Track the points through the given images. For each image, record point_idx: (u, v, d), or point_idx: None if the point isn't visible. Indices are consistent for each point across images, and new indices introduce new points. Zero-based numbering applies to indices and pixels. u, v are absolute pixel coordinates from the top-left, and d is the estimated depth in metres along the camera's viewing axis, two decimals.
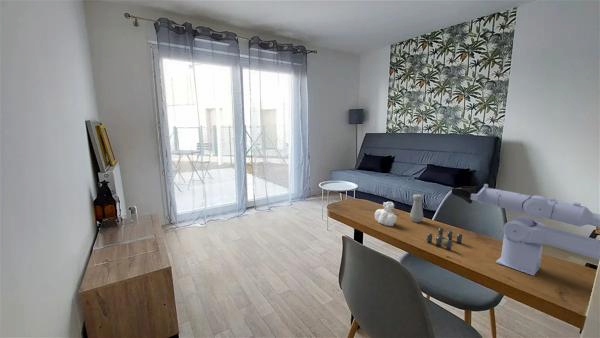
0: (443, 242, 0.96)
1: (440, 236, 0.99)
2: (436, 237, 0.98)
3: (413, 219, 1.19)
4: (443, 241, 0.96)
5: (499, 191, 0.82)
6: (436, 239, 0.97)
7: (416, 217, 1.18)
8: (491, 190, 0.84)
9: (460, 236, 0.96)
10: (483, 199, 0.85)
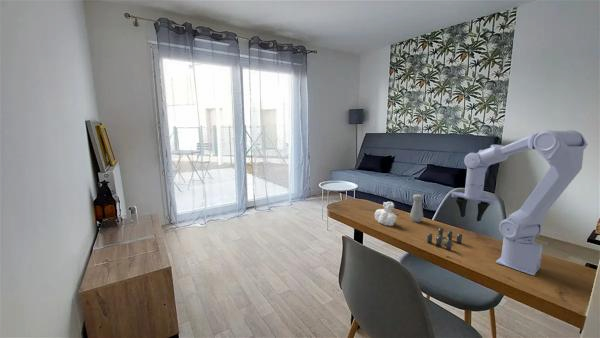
0: (443, 242, 0.96)
1: (440, 236, 0.99)
2: (436, 237, 0.98)
3: (413, 219, 1.19)
4: (443, 241, 0.96)
5: None
6: (436, 239, 0.97)
7: (416, 217, 1.18)
8: None
9: (460, 236, 0.96)
10: (464, 193, 0.97)
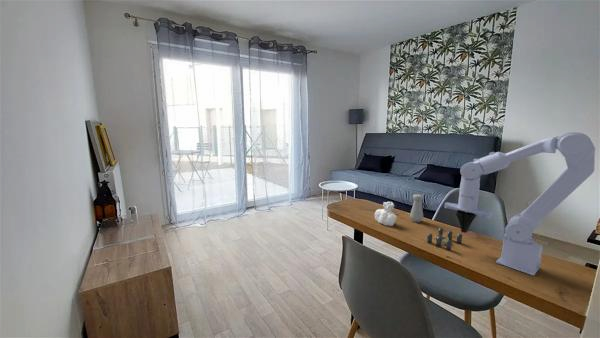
0: (443, 242, 0.96)
1: (440, 236, 0.99)
2: (436, 237, 0.98)
3: (413, 219, 1.19)
4: (443, 241, 0.96)
5: None
6: (436, 239, 0.97)
7: (416, 217, 1.18)
8: None
9: (460, 236, 0.96)
10: (458, 205, 0.91)
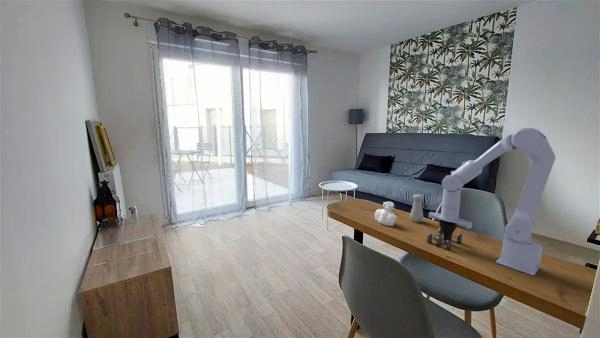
0: None
1: (436, 234, 1.00)
2: (432, 235, 0.99)
3: (413, 219, 1.19)
4: None
5: None
6: (432, 237, 0.98)
7: (416, 217, 1.18)
8: None
9: (460, 236, 0.96)
10: (441, 215, 0.96)
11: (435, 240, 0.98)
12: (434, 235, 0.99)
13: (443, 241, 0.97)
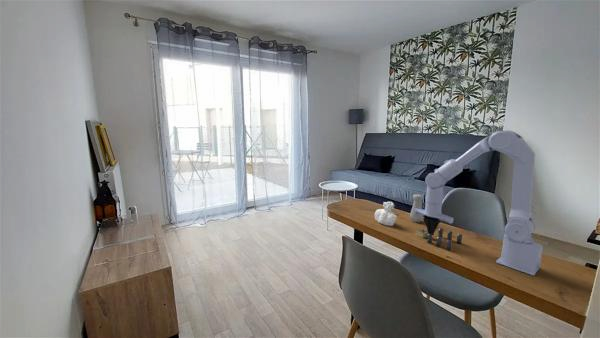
0: (424, 235, 1.02)
1: (421, 230, 1.05)
2: (417, 230, 1.04)
3: (413, 219, 1.19)
4: (424, 234, 1.02)
5: None
6: (417, 232, 1.03)
7: (416, 217, 1.18)
8: None
9: (460, 236, 0.96)
10: (425, 210, 1.01)
11: (420, 235, 1.03)
12: (419, 230, 1.04)
13: (427, 236, 1.02)
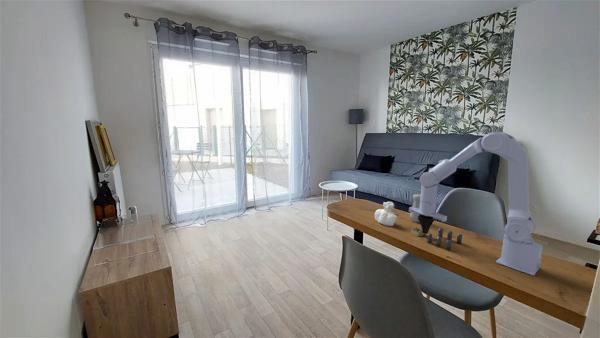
0: (418, 234, 1.03)
1: (416, 228, 1.07)
2: (412, 229, 1.06)
3: (413, 219, 1.19)
4: (418, 233, 1.03)
5: None
6: (412, 231, 1.05)
7: (416, 217, 1.18)
8: None
9: (460, 236, 0.96)
10: (419, 209, 1.03)
11: (414, 233, 1.04)
12: (413, 229, 1.06)
13: (422, 234, 1.04)
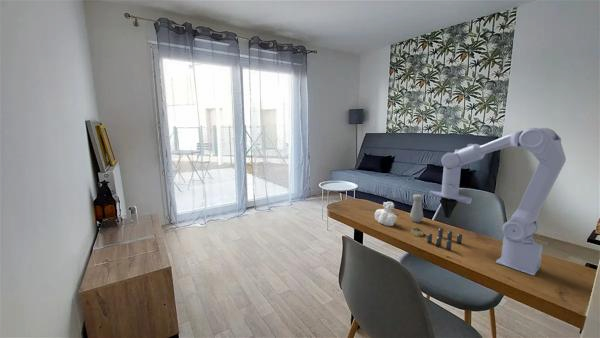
0: (418, 234, 1.03)
1: (416, 228, 1.07)
2: (412, 229, 1.06)
3: (413, 219, 1.19)
4: (418, 233, 1.03)
5: None
6: (412, 231, 1.05)
7: (416, 217, 1.18)
8: None
9: (460, 236, 0.96)
10: (441, 192, 0.99)
11: (414, 233, 1.04)
12: (413, 229, 1.06)
13: (422, 234, 1.04)
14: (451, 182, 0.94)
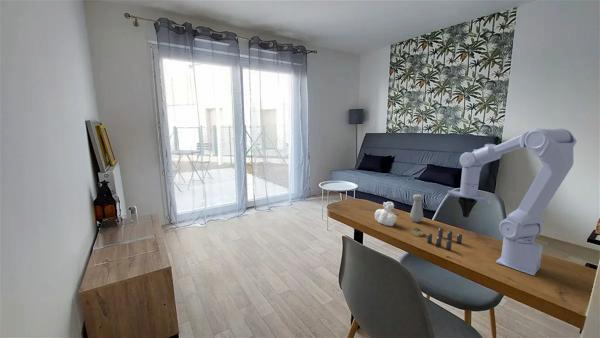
0: (418, 234, 1.03)
1: (416, 228, 1.07)
2: (412, 229, 1.06)
3: (413, 219, 1.19)
4: (418, 233, 1.03)
5: None
6: (412, 231, 1.05)
7: (416, 217, 1.18)
8: None
9: (460, 236, 0.96)
10: (460, 192, 0.99)
11: (414, 233, 1.04)
12: (413, 229, 1.06)
13: (422, 234, 1.04)
14: (467, 181, 0.95)
